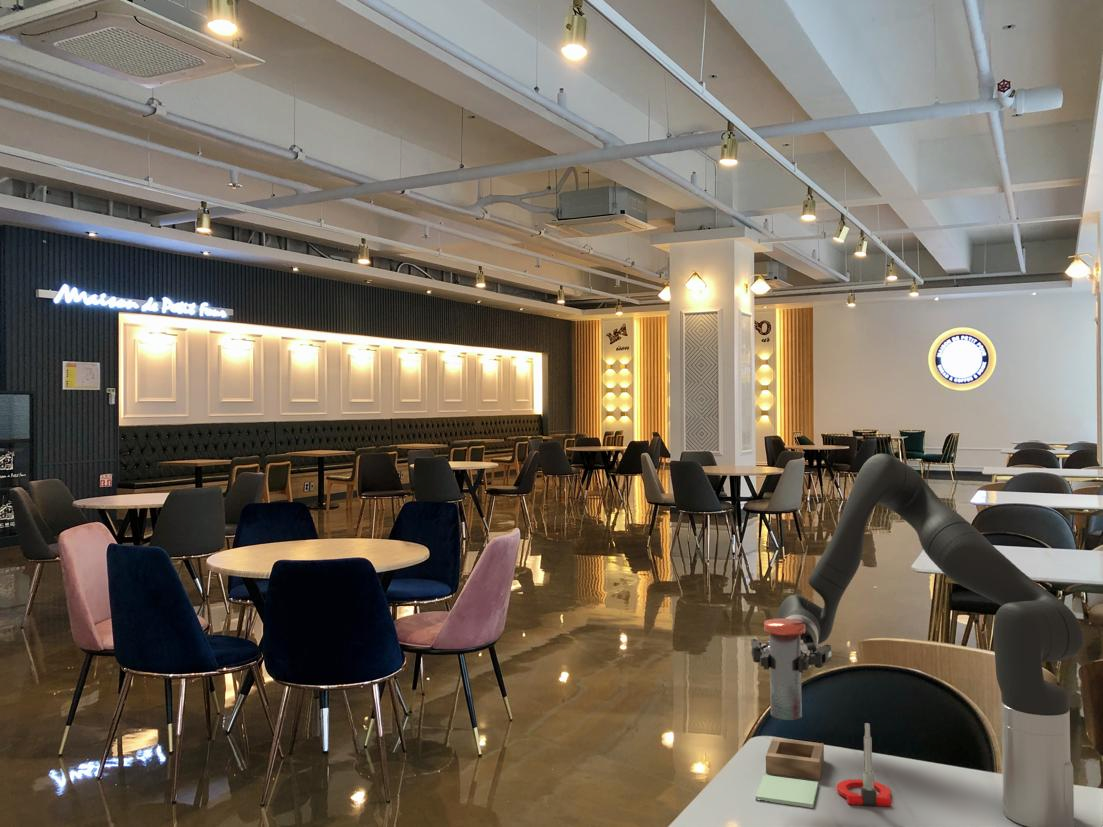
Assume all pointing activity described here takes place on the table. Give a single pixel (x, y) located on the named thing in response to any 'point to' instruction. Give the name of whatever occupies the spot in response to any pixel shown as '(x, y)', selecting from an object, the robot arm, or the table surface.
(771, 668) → the steel peg
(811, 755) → the brown square frame
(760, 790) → the sage mat
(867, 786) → the tow hook
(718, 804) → the table surface
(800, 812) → the table surface
